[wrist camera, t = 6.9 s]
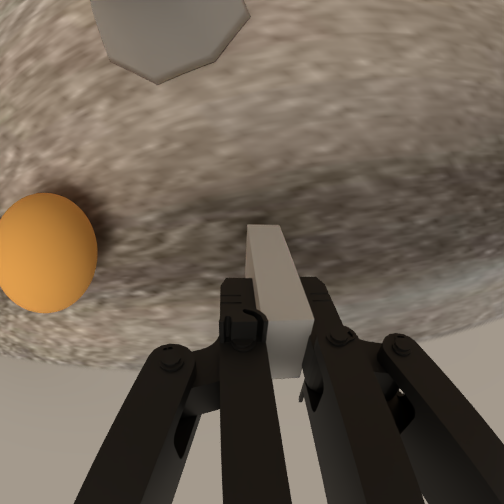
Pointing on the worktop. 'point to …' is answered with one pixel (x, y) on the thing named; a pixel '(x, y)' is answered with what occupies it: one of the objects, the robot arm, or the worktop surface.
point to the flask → (167, 33)
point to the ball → (46, 252)
